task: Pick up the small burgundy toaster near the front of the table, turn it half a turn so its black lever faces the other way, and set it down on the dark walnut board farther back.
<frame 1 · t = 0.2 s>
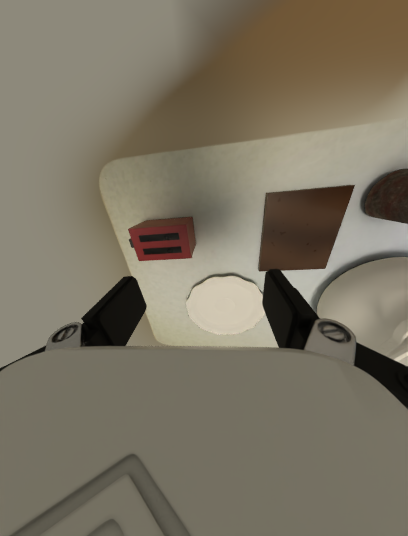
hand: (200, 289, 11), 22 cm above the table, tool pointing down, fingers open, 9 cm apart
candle: (382, 194, 26), on the table
board: (297, 233, 30), on the table
plate: (224, 304, 41), on the table
pot: (363, 295, 36), on the table
toaster: (171, 233, 31), on the table
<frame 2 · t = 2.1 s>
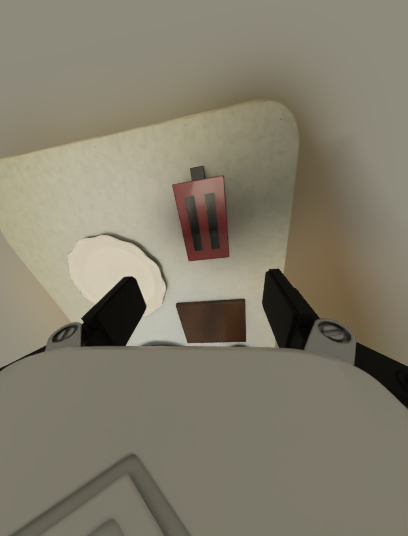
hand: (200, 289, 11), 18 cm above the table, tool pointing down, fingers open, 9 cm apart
board: (213, 321, 37), on the table
plate: (122, 278, 33), on the table
toaster: (206, 215, 25), on the table
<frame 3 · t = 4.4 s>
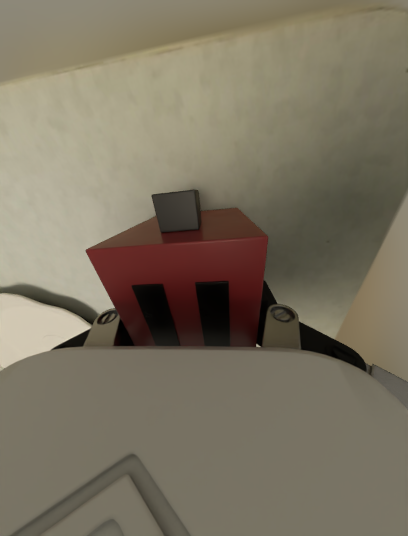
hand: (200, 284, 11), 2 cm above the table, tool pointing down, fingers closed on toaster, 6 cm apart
plate: (64, 344, 21), on the table
toaster: (203, 270, 13), on the table, touching gripper
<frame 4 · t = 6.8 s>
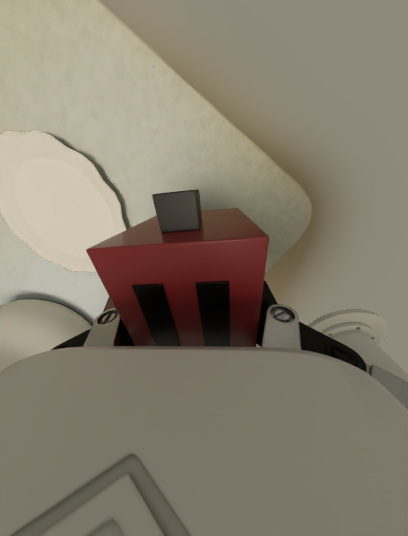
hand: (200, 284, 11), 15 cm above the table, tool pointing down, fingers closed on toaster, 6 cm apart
plate: (70, 214, 25), on the table
pot: (60, 326, 40), on the table
toaster: (203, 270, 13), point 13 cm above the table, touching gripper
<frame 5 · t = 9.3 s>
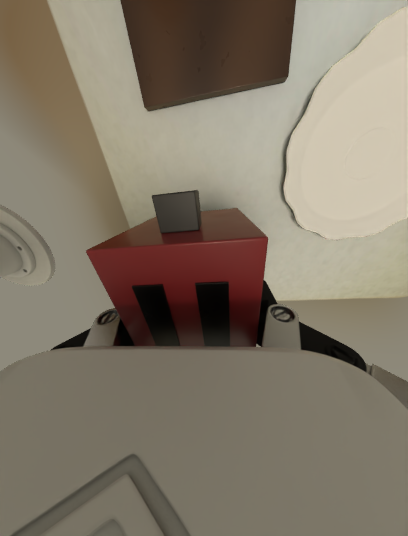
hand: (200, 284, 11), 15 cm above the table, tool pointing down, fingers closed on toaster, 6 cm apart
plate: (365, 155, 19), on the table
toaster: (203, 270, 13), point 13 cm above the table, touching gripper
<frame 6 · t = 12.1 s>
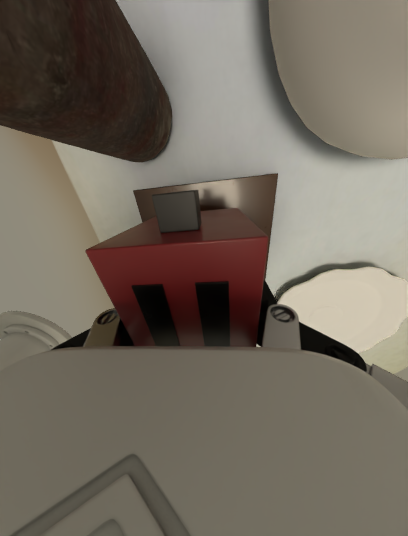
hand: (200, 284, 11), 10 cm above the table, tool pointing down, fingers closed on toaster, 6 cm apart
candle: (137, 121, 15), on the table
board: (207, 241, 20), on the table
plate: (323, 315, 25), on the table
toaster: (203, 270, 13), point 8 cm above the table, touching gripper
when the fingers open (3 cm above the table, at t = 14.2 s): toaster stays where it is, resting on board.
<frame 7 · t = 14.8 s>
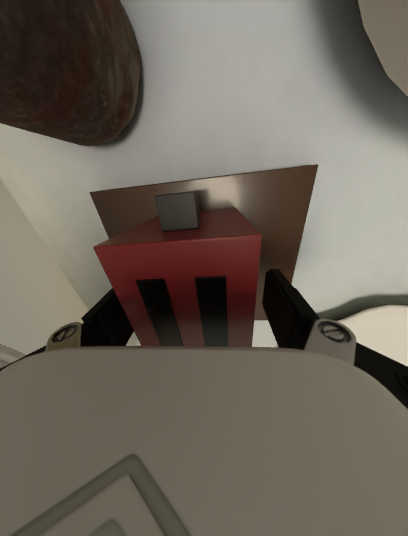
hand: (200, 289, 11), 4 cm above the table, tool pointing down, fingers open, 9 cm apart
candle: (86, 78, 9), on the table
board: (204, 262, 14), on the table
plate: (356, 354, 19), on the table
toaster: (202, 268, 13), point 1 cm above the table, touching board
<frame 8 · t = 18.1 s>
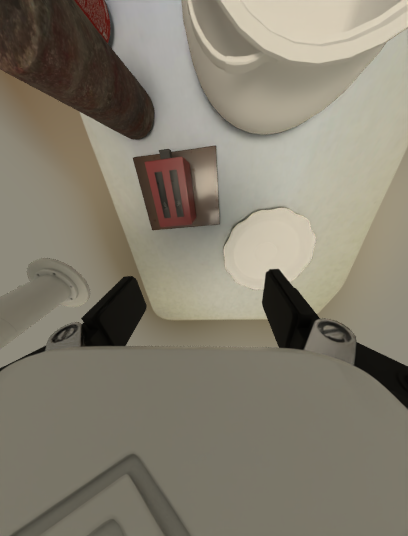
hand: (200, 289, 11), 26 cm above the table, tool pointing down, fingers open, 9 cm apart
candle: (135, 115, 26), on the table
beverage can: (94, 26, 22), on the table
board: (180, 193, 31), on the table
plate: (265, 251, 37), on the table
pot: (274, 30, 21), on the table
toaster: (179, 194, 31), point 1 cm above the table, touching board
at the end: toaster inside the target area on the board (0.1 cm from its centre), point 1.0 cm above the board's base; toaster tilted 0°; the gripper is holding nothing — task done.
